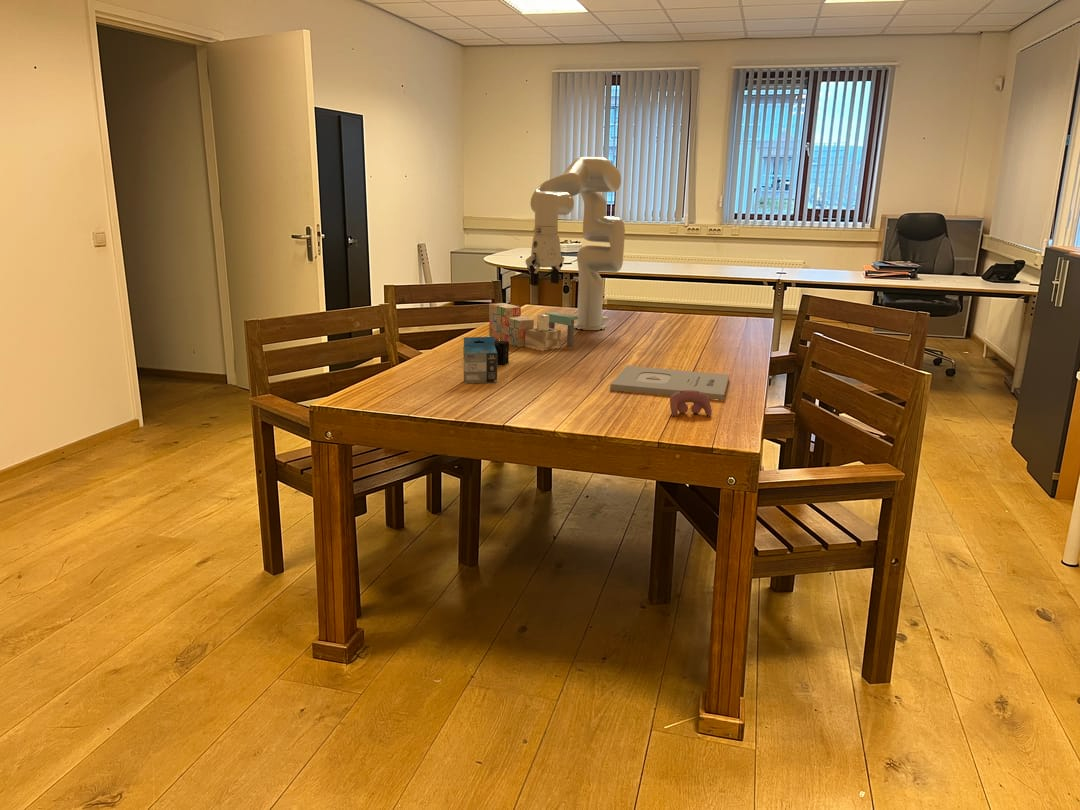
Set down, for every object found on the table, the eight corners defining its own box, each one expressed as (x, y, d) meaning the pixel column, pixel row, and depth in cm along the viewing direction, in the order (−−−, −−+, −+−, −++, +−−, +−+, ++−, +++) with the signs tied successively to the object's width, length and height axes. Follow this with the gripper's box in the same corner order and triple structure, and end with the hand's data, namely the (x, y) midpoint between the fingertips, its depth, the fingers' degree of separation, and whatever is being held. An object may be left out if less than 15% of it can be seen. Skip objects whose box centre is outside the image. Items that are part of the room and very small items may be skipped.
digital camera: (470, 363, 238) (470, 340, 236) (478, 360, 243) (478, 337, 241) (501, 366, 234) (501, 344, 232) (508, 363, 239) (508, 341, 237)
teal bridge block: (552, 340, 278) (552, 312, 275) (577, 345, 270) (578, 316, 267) (544, 341, 275) (545, 313, 273) (569, 346, 267) (570, 317, 265)
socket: (543, 344, 270) (543, 327, 269) (560, 347, 265) (560, 330, 263) (525, 347, 264) (525, 329, 262) (541, 351, 259) (542, 333, 257)
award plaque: (723, 403, 202) (724, 394, 202) (609, 391, 210) (610, 383, 210) (728, 381, 225) (729, 374, 224) (626, 372, 233) (626, 365, 232)
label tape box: (465, 384, 212) (465, 339, 209) (463, 380, 216) (463, 336, 213) (497, 383, 215) (498, 339, 211) (494, 379, 218) (494, 336, 215)
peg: (550, 344, 264) (551, 315, 262) (542, 346, 261) (543, 316, 259) (542, 343, 267) (543, 314, 264) (534, 344, 264) (535, 314, 261)
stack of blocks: (533, 346, 267) (534, 310, 263) (517, 347, 263) (518, 311, 260) (503, 335, 284) (504, 302, 281) (488, 337, 281) (488, 303, 278)
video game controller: (708, 419, 191) (707, 391, 192) (713, 416, 186) (712, 387, 188) (668, 419, 190) (667, 391, 192) (672, 415, 186) (671, 387, 187)
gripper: (535, 233, 246) (534, 287, 250) (572, 231, 258) (570, 283, 262) (519, 231, 251) (518, 285, 255) (555, 230, 263) (554, 281, 267)
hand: (544, 284), depth 259 cm, fingers open, 9 cm apart
